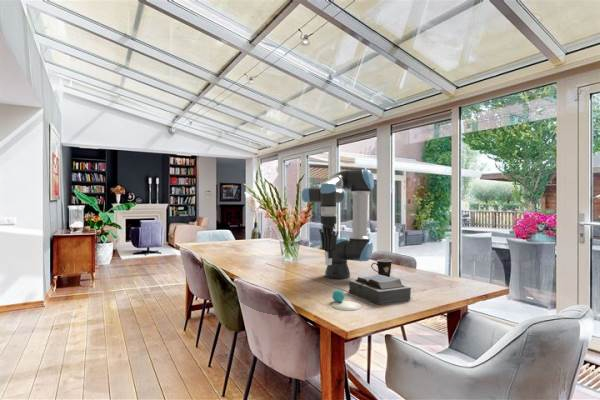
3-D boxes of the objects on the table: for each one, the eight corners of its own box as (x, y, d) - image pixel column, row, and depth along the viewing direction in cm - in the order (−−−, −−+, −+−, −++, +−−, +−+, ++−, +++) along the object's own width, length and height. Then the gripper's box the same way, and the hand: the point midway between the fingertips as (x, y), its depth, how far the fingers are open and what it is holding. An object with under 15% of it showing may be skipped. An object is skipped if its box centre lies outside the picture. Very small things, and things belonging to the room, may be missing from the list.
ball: (339, 292, 157) (336, 304, 157) (348, 292, 160) (345, 303, 160) (331, 288, 161) (329, 299, 161) (340, 287, 164) (337, 299, 165)
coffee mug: (392, 276, 213) (392, 259, 213) (391, 279, 205) (391, 262, 205) (372, 274, 217) (372, 258, 217) (371, 277, 209) (371, 261, 209)
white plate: (326, 304, 157) (326, 303, 157) (349, 300, 164) (349, 299, 164) (343, 312, 146) (343, 312, 146) (367, 307, 152) (367, 307, 152)
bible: (369, 307, 155) (369, 284, 155) (345, 291, 181) (345, 272, 181) (415, 302, 161) (415, 281, 161) (386, 288, 187) (386, 269, 187)
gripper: (314, 215, 170) (314, 263, 171) (329, 216, 159) (330, 268, 159) (327, 214, 174) (327, 261, 174) (343, 215, 163) (343, 266, 163)
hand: (328, 264), depth 167 cm, fingers closed
